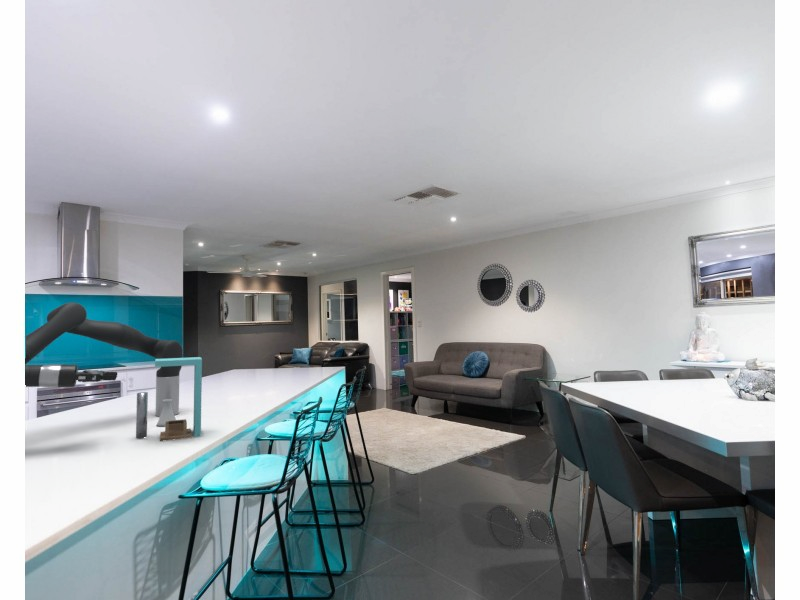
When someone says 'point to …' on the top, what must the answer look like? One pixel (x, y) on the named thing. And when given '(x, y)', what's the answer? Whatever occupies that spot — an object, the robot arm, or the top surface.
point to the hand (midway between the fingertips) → (116, 376)
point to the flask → (166, 413)
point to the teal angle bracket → (197, 384)
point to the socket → (175, 430)
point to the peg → (141, 415)
